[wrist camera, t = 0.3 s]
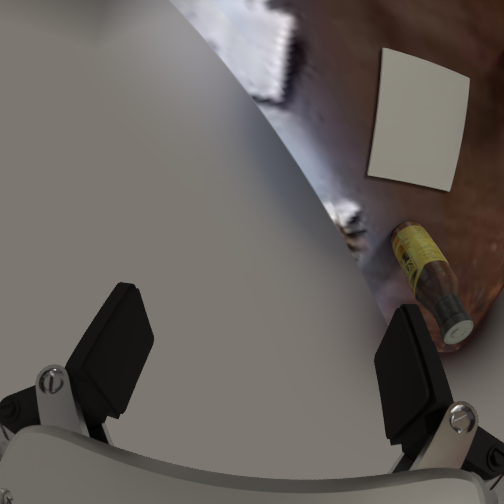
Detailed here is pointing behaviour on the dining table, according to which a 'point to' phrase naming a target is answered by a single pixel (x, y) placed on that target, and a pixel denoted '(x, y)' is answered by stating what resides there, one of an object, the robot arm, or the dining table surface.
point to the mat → (418, 121)
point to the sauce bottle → (431, 280)
